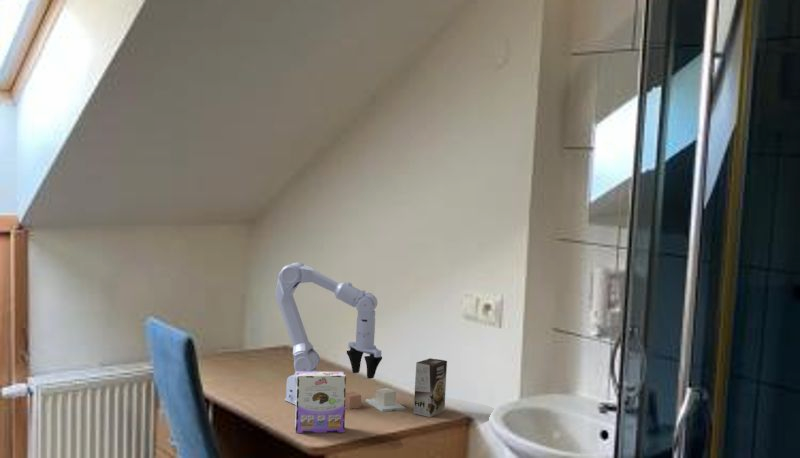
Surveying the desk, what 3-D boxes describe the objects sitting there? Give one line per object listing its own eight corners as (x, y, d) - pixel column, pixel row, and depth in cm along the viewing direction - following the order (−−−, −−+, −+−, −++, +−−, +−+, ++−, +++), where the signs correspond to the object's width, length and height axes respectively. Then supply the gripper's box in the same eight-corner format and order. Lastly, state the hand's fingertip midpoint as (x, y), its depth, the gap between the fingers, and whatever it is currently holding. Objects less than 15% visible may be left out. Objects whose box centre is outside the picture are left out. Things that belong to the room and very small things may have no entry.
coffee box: (430, 417, 257) (433, 365, 256) (412, 413, 261) (415, 362, 260) (445, 411, 265) (448, 360, 264) (427, 407, 268) (430, 357, 267)
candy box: (342, 426, 244) (344, 370, 243) (344, 433, 238) (346, 375, 237) (294, 427, 242) (296, 370, 241) (295, 433, 236) (297, 375, 235)
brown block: (349, 409, 263) (349, 396, 262) (340, 405, 266) (341, 393, 266) (360, 407, 266) (361, 394, 265) (352, 403, 269) (352, 391, 269)
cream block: (383, 405, 265) (384, 393, 265) (375, 402, 269) (375, 389, 268) (395, 403, 268) (395, 391, 268) (386, 400, 271) (387, 388, 271)
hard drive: (365, 399, 272) (382, 409, 261) (388, 396, 276) (405, 406, 265) (365, 404, 272) (382, 414, 261) (387, 401, 276) (405, 411, 265)
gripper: (389, 335, 262) (387, 379, 263) (361, 327, 273) (359, 369, 274) (372, 337, 258) (369, 381, 259) (343, 329, 269) (341, 371, 270)
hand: (363, 375), depth 266 cm, fingers open, 7 cm apart
